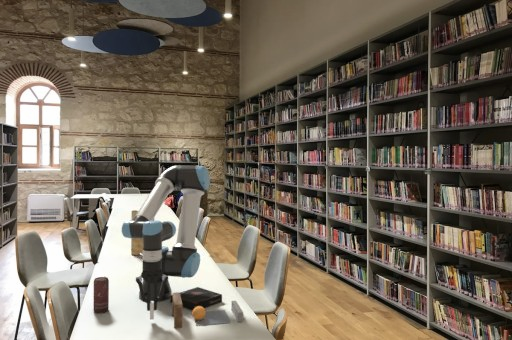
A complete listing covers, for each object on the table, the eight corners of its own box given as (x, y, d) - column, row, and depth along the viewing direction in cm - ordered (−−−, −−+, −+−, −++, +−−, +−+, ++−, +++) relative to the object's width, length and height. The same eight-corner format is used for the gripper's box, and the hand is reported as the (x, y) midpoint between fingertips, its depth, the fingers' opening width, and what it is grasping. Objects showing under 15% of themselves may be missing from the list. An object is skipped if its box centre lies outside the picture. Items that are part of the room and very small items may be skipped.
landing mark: (192, 312, 178) (192, 312, 178) (224, 310, 181) (224, 309, 181) (196, 325, 164) (196, 325, 164) (230, 322, 168) (230, 322, 168)
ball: (198, 301, 173) (208, 309, 174) (189, 311, 172) (199, 319, 173) (198, 306, 167) (208, 314, 168) (189, 317, 167) (200, 325, 168)
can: (110, 307, 182) (110, 276, 181) (105, 313, 176) (106, 280, 175) (96, 307, 182) (96, 276, 181) (91, 313, 175) (91, 280, 175)
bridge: (174, 328, 162) (174, 304, 161) (172, 314, 176) (172, 292, 175) (182, 327, 162) (182, 304, 162) (179, 313, 176) (179, 292, 176)
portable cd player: (196, 294, 203) (196, 286, 203) (221, 303, 192) (222, 294, 192) (170, 303, 190) (170, 295, 190) (195, 313, 179) (195, 303, 179)
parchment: (155, 259, 267) (156, 213, 266) (146, 261, 263) (147, 214, 262) (138, 253, 285) (138, 209, 284) (130, 254, 280) (130, 210, 279)
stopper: (231, 309, 182) (231, 300, 182) (235, 309, 182) (236, 300, 182) (238, 322, 168) (238, 312, 168) (242, 321, 169) (243, 312, 169)
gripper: (135, 263, 160) (134, 323, 161) (169, 261, 164) (168, 320, 164) (135, 258, 168) (135, 315, 168) (168, 256, 171) (167, 313, 172)
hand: (151, 318), depth 166 cm, fingers closed
